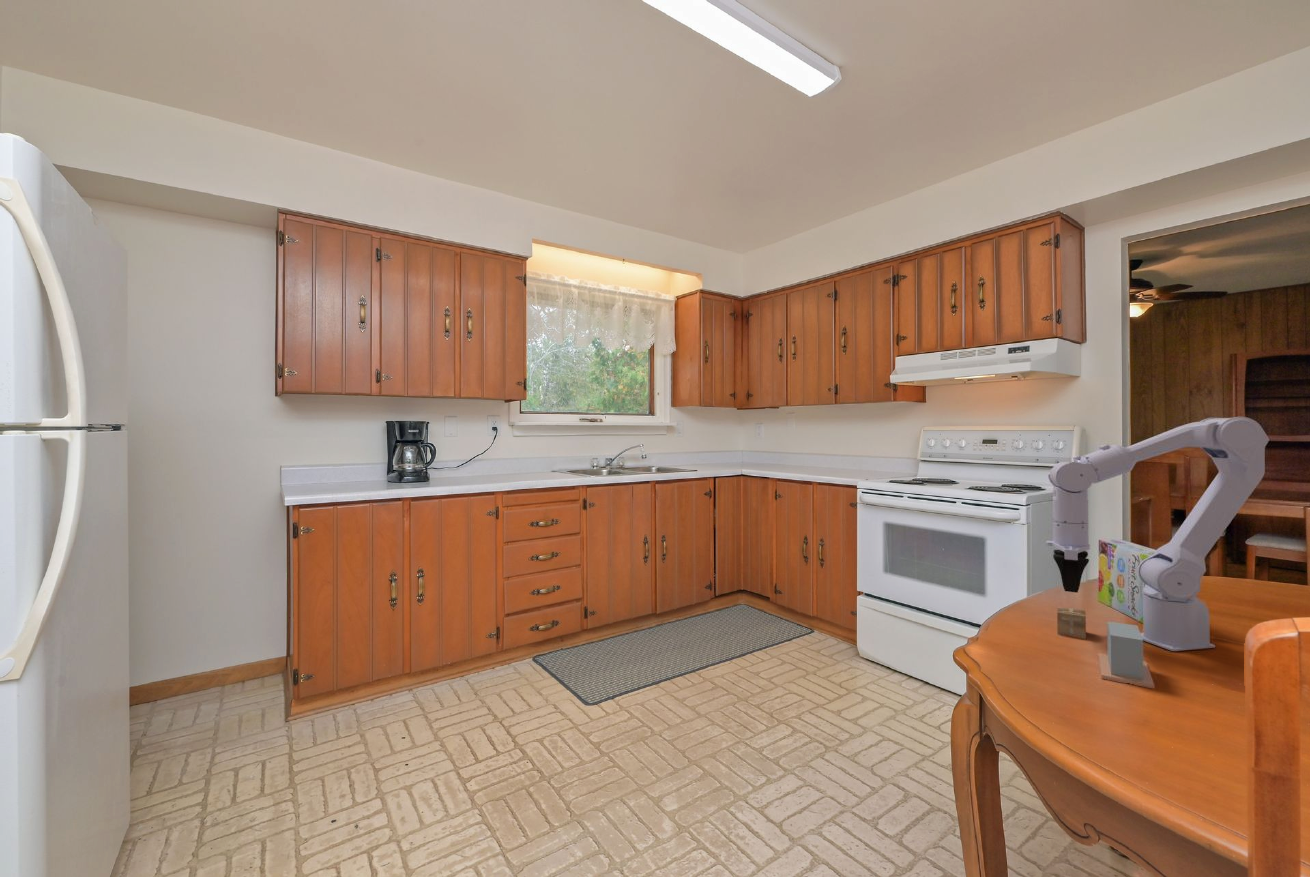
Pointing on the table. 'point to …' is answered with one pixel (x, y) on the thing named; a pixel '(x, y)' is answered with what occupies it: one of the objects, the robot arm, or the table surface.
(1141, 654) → the gray block
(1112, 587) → the snack box
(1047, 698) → the table surface
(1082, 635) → the letter block
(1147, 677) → the terracotta tile
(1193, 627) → the robot arm
